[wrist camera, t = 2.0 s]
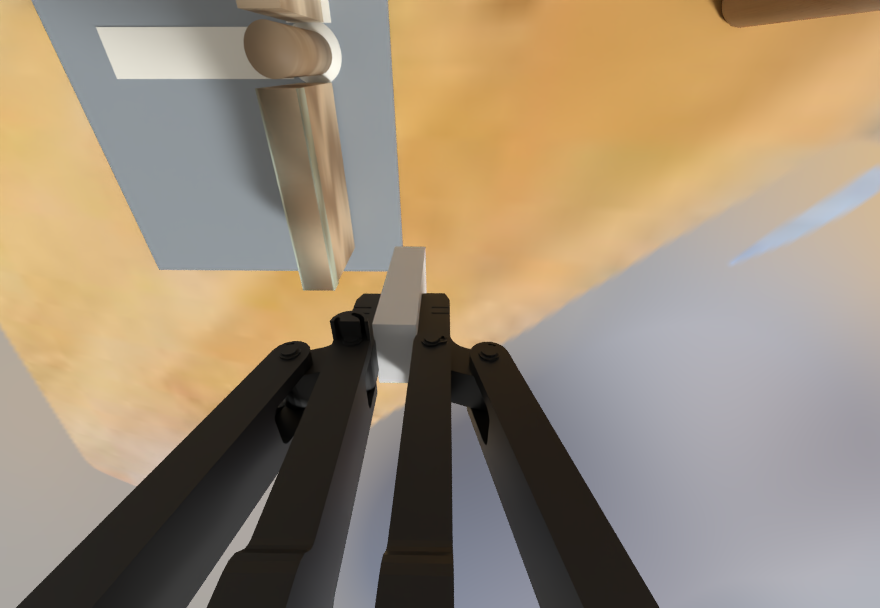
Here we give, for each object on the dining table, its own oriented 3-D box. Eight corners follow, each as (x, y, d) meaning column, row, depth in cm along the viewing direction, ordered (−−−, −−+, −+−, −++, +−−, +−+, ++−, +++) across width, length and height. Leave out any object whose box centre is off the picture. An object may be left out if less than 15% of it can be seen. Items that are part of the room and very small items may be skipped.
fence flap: (300, 82, 24) (254, 88, 19) (333, 82, 24) (297, 88, 19) (330, 247, 31) (303, 290, 25) (356, 247, 31) (335, 290, 25)
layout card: (-153, -402, 16) (-167, -412, 15) (362, -412, 15) (361, -422, 15) (161, 268, 33) (158, 270, 33) (404, 269, 33) (403, 271, 32)
